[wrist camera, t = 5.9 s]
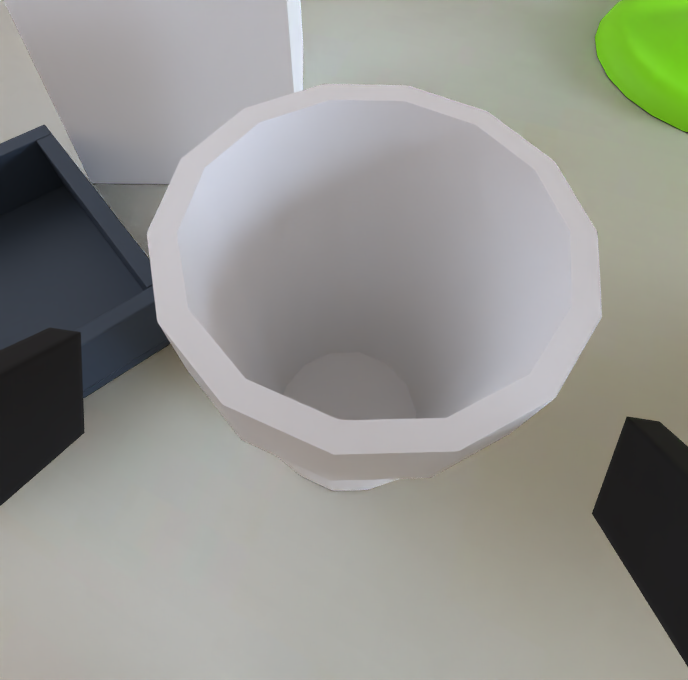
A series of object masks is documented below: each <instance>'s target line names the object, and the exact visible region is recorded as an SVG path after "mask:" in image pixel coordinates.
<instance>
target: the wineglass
mask: <svg viewBox="0 0 688 680" xmlns="http://www.w3.org/2000/svg"><path fill="white" fill-rule="evenodd" d="M595 43H596V50H597V57H598V59H599V61H600V63H601V65H602V66H603V68H604V70H605V72H606V74H607V76H608V77H609V79H610V80H611V81H612V82H613V83H614V84H615V85H616V86H617V87H618V88H619V89H620V91H621V92H622V93H623V94H624V95H625V96H626V97H627V98H629V99H630V100H631V101H633V102H634V103H635V104H637V105H638V106H640V107H641V108H642V109H644V110H645V111H646V112H648V113H649V114H651V115H652V116H654V117H656V118H658V119H660V120H662V121H664V122H666V123H668V124H670V125H672V126H674V127H676V128H678V129H680V130H682V131H685V132H688V0H622V1H620V2H618V3H617V4H616V5H615V6H614V7H613V8H612V9H611V10H610V11H609V12H608V13H607V14H606V15H605V16H604V18H603V19H602V20H601V21H600V23H599V26H598V30H597V33H596V36H595Z"/></svg>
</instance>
